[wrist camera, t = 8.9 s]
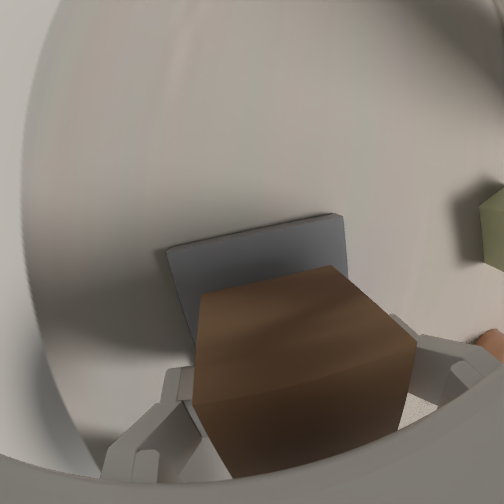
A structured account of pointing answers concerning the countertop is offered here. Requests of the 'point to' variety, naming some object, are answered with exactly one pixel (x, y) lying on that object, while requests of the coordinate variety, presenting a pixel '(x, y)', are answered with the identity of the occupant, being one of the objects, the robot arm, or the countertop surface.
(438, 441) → the robot arm
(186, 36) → the countertop surface
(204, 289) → the slate coaster
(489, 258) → the olive block
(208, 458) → the cup
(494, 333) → the peach glossy ball
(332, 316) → the walnut block
